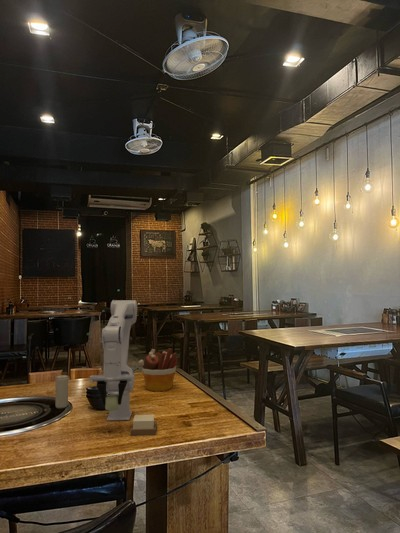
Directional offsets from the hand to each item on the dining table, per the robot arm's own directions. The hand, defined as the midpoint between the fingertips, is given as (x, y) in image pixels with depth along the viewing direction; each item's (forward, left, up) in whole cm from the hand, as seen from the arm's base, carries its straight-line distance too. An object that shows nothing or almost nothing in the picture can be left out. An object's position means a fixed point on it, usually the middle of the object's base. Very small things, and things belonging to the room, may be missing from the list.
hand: (112, 403), depth 130 cm
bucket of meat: (-54, +13, -9) cm, 57 cm away
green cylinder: (0, 0, -1) cm, 1 cm away
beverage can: (-29, -25, -9) cm, 39 cm away
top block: (+1, +10, -7) cm, 13 cm away
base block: (+1, +10, -10) cm, 14 cm away
